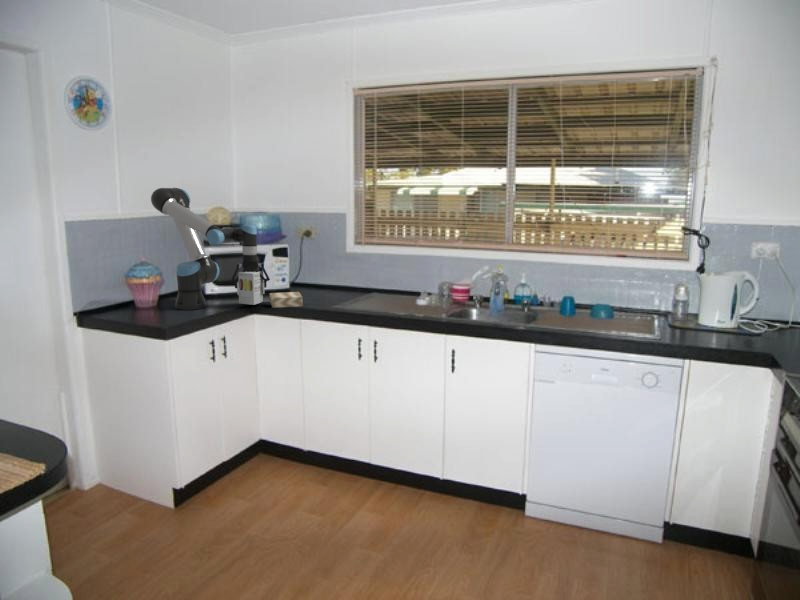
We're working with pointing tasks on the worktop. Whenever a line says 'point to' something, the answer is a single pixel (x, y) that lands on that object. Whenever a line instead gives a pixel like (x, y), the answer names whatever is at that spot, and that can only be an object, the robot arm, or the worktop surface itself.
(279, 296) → the block
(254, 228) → the robot arm
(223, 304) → the worktop surface
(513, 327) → the worktop surface
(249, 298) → the supplement box
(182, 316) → the worktop surface
